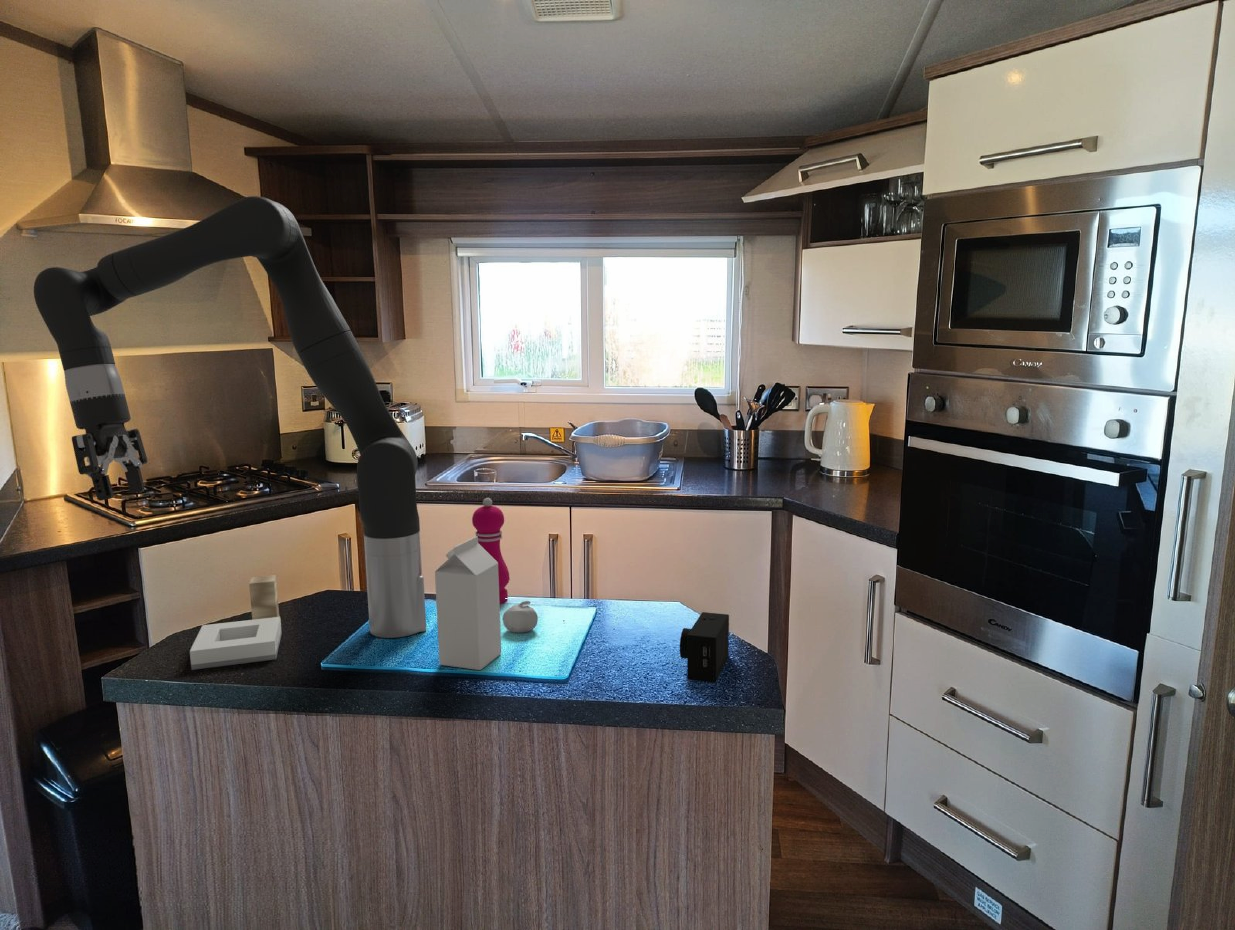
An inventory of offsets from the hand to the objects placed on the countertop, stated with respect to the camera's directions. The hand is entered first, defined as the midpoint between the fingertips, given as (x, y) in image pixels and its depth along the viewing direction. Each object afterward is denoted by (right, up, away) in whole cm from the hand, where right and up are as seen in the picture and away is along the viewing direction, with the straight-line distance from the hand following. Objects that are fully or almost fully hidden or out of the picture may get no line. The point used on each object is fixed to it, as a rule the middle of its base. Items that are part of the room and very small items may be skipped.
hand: (122, 495), depth 130 cm
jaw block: (+17, -23, +15) cm, 32 cm away
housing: (+18, -25, +2) cm, 31 cm away
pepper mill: (+55, -21, +25) cm, 64 cm away
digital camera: (+93, -26, -7) cm, 97 cm away
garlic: (+63, -24, +9) cm, 68 cm away
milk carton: (+57, -26, -3) cm, 62 cm away
